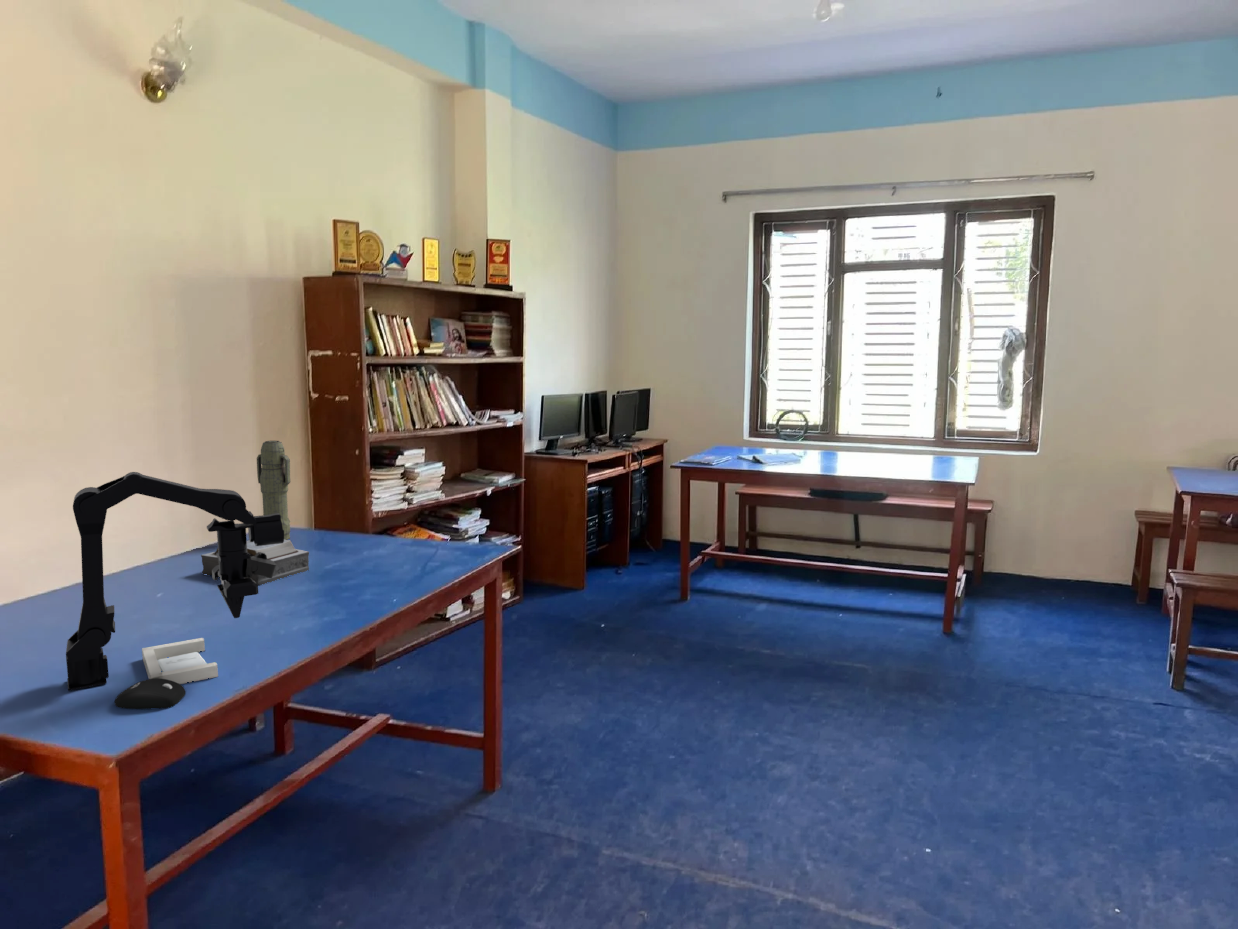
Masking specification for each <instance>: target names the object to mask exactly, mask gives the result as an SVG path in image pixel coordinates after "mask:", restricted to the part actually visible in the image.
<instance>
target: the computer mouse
mask: <svg viewBox="0 0 1238 929" xmlns="http://www.w3.org/2000/svg"><path fill="white" fill-rule="evenodd" d="M185 696H186V688H184V686H183V684H179V683H176V682H174V681H171V680H167V679H160V678H154V679H149V678H147V679H144V680H141V681H139V682H136V683H134V684H133V685H131V686H129V687H127V688H125V689H124V690H122V691H121V692H120V693H119V694H118V695H117V696H116V697H115V700H114V706H115V707H116V708H120V709H127V710H128V709H131V710H151V708H159V709H168V707H169V708H172V707H174V706H175V704H176V705H177V704H178V703H179V702H181V700H182V699H183V698H184V697H185ZM173 705H174V706H173ZM171 706H172V707H171Z"/></svg>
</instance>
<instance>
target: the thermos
mask: <svg viewBox="0 0 1238 929" xmlns="http://www.w3.org/2000/svg"><path fill="white" fill-rule="evenodd" d="M285 450H286V449H285V447H284V444H283V443H282V441H280V440H265V441H264V442H262V445H261V448H260V453H259V454H258V455H257V457H256V472H257V473H256V474H257V482H258V484H260V492H261V494H262V514H263V515H270V514H274V513H279V514H280V515H281V522H282V527H283V530H284V540H288V539H290V540H291V535H290V534H291V524H290V523H291V521H290V519H289V513H288V511H289V509H288V491H289V485H290V484H291V463H290V462H291V460H290V458H289V456H288V455H286V454H285V453H286V452H285Z"/></svg>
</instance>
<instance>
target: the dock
mask: <svg viewBox="0 0 1238 929" xmlns="http://www.w3.org/2000/svg"><path fill="white" fill-rule="evenodd" d="M200 651H202V652H205V651H206V645H205V638H204V637H199V638H193V639H187V640H182V641H176V642H170V643H165V644H158V645H153V646H148V647H142V648H141V655H142V656H141V657H142V661H143V665H144V669H145V671H146V672H145V673H146V674H147V679H154V678H160V679H167V680H171V681H174V682H176V683H179V684H180V685H185V684H188V683H187V682H189V683H192V681H194V682H198V681H203V680H208V678H209V679H212V678H218V677H219V671H218V668H219V667H218V663H217V662H216V661H215V662H209V663H207V664H203V665H198V666H193V667H187V668H182V669H177V670H172V671H167V672H161V669H160V667H159V664H158V661H157V660H160V659H164V658H167V657H174V656H179V655H184V654H188V653H193V652H198V653H201V652H200Z"/></svg>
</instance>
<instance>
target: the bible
mask: <svg viewBox="0 0 1238 929" xmlns="http://www.w3.org/2000/svg"><path fill="white" fill-rule="evenodd" d="M247 552H248V553H249V554H250V555H251V557H252V556H255V555H256V554H257V553H258V552H261V553H265V554H266V556H267V559H270V560H272V561H274V562H275V563H276V564H277V565H276V568H275V571H274V574H273V577H272V578H267V577H266V576H261V575H256V574H252V577H248V578H251V579H252V580H254V581H255V582H256V583H257V584H258V586H263V585H266V584H268V583H267V582H270V583H273V582H276V581H278V580H277V579H279V580H281V579H280V578H282V579H285V578H284V577H286V578H288V577H287V576H289V575H292V576H295V575H294V574H296V575H298V574H297V573H299V574H301V573H300V572H302V573H305V572H307V570H308V571H309V570H310V567H309V566H310V565H309V564H310V563H309V562H310V560H309V559H310V558H309V556H310V552H309V551H306V550H302V549H297V548H295V546H294V544H293V543H292V541H291V539H290V540H284V542H283V543H281V544H272V545H263V546H255V544H254V542H250V541H249V539H248V540H247ZM217 553H218V547H217V549H216V551H213V552H208V553H203V554H201V555H200V557H201V563H202V567H203V569H202V571H201V572H202V573H203V574H207V575H212V569H213V568H214V567H215V566H217V565H219V559H218V558H217ZM289 577H290V576H289ZM245 578H246V577H244V579H245ZM275 580H276V581H275ZM272 581H273V582H272ZM265 583H266V584H265ZM262 584H263V585H262Z"/></svg>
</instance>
